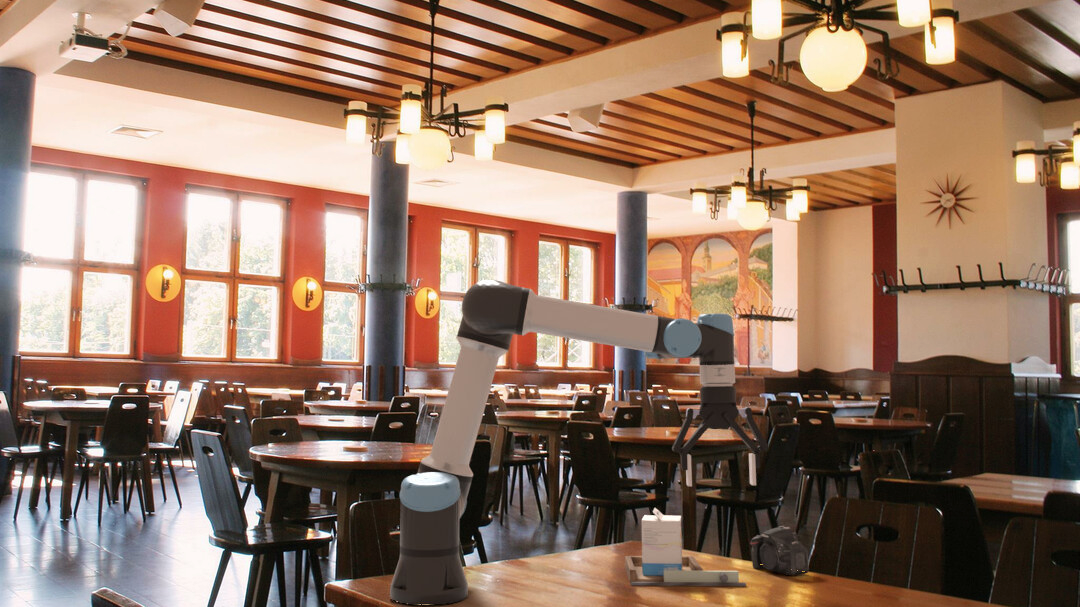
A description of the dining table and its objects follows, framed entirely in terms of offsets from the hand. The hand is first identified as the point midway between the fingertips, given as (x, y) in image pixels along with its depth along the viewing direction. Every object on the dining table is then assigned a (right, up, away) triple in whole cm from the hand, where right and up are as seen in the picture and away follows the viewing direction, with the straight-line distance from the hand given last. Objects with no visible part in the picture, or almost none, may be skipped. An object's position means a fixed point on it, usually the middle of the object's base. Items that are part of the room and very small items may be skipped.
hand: (721, 485), depth 190 cm
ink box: (-12, -20, +3) cm, 23 cm away
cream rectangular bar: (-5, -19, -5) cm, 21 cm away
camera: (+14, -21, +7) cm, 27 cm away
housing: (-8, -20, +2) cm, 22 cm away
